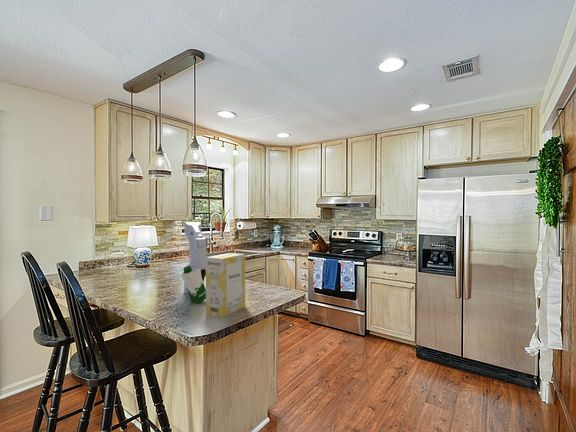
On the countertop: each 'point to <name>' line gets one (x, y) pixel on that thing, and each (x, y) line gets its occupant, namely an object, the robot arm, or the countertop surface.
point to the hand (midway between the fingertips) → (201, 283)
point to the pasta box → (225, 284)
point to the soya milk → (194, 284)
